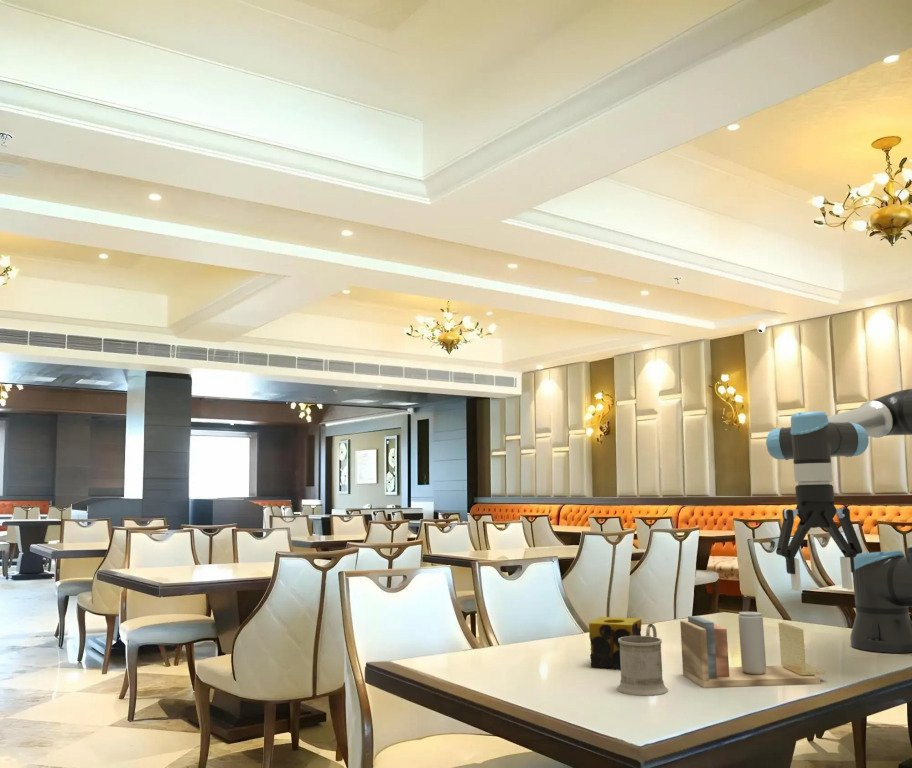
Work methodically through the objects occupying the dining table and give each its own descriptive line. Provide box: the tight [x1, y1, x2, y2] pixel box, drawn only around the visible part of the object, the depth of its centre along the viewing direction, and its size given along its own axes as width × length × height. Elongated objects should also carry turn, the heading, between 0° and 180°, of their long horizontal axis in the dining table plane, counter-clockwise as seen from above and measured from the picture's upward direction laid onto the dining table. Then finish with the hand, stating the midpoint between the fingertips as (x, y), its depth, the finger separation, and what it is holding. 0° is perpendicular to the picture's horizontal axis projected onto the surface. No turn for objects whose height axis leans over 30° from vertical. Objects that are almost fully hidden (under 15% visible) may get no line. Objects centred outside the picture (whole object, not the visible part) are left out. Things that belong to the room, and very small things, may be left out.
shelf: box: [679, 615, 821, 689], centre depth 171 cm, size 24×12×12 cm, turn 94°
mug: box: [616, 622, 669, 697], centre depth 165 cm, size 14×10×12 cm
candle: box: [588, 616, 642, 671], centre depth 187 cm, size 10×10×10 cm
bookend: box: [778, 622, 826, 676], centre depth 171 cm, size 5×9×9 cm, turn 4°
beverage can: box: [737, 611, 767, 675], centre depth 171 cm, size 5×5×12 cm
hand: (822, 589), depth 173 cm, fingers open, 10 cm apart
